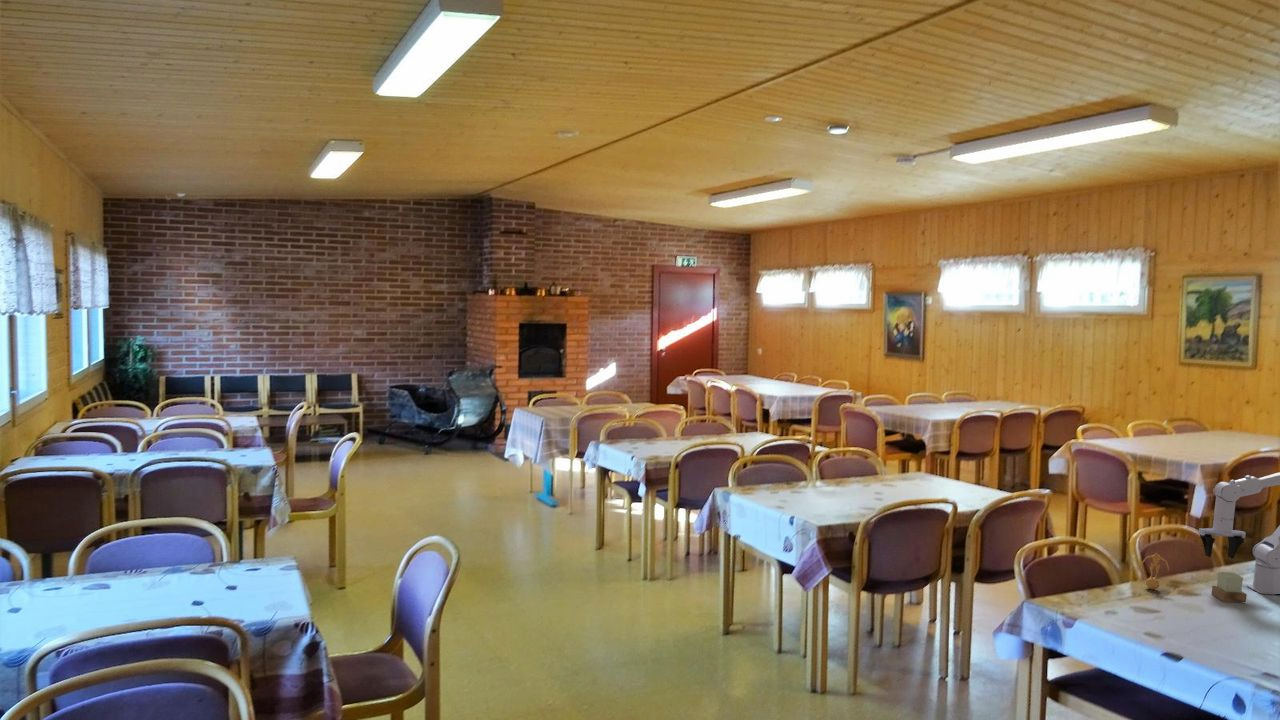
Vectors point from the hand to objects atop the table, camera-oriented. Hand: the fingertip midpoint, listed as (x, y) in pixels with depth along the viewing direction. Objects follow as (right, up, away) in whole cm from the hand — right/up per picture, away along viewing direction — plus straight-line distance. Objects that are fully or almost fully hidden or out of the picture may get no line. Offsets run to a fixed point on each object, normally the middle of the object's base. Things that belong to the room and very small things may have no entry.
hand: (1219, 556), depth 312 cm
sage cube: (-4, -8, -12) cm, 15 cm away
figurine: (-26, -10, -5) cm, 28 cm away
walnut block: (-5, -11, -12) cm, 17 cm away
